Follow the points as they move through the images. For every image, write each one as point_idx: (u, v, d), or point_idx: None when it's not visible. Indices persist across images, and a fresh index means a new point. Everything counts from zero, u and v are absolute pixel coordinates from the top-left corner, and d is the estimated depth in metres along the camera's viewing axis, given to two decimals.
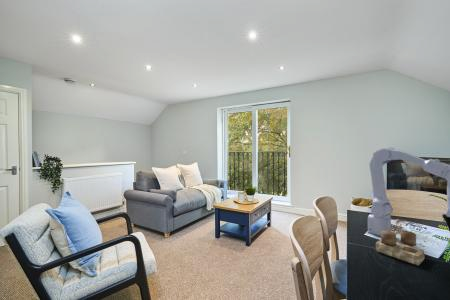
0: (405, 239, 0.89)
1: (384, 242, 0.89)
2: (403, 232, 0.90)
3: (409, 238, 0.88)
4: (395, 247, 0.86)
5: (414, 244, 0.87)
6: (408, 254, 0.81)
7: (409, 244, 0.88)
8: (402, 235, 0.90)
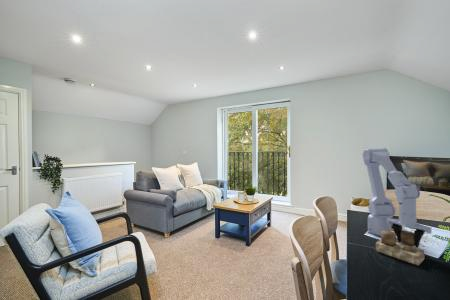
0: (405, 239, 0.89)
1: (384, 242, 0.89)
2: (403, 232, 0.90)
3: (409, 238, 0.88)
4: (395, 247, 0.86)
5: (414, 244, 0.87)
6: (408, 254, 0.81)
7: (409, 244, 0.88)
8: (402, 235, 0.90)
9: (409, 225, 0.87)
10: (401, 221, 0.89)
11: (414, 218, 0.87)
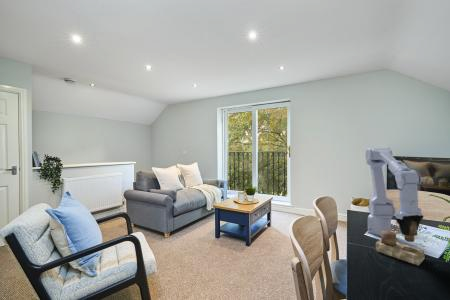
0: (415, 229, 0.82)
1: (384, 242, 0.89)
2: None
3: (416, 226, 0.83)
4: (395, 247, 0.86)
5: None
6: (408, 254, 0.81)
7: None
8: (412, 226, 0.82)
9: (418, 212, 0.82)
10: (414, 210, 0.81)
11: None
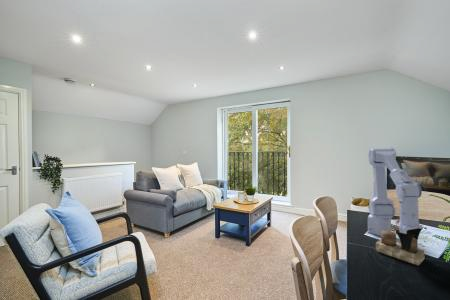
0: (416, 246, 0.81)
1: (384, 242, 0.89)
2: None
3: (417, 243, 0.82)
4: (395, 247, 0.86)
5: None
6: (408, 254, 0.81)
7: (417, 249, 0.82)
8: (414, 243, 0.81)
9: None
10: (415, 224, 0.80)
11: None
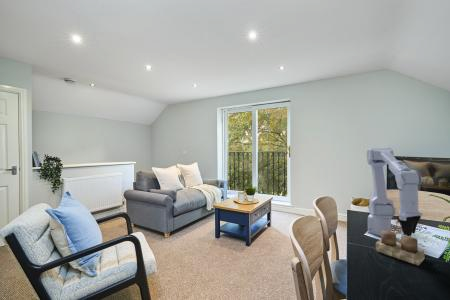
0: (416, 246, 0.81)
1: (384, 242, 0.89)
2: (410, 240, 0.82)
3: (417, 243, 0.82)
4: (395, 247, 0.86)
5: None
6: (408, 254, 0.81)
7: (417, 249, 0.82)
8: (414, 243, 0.81)
9: None
10: (415, 211, 0.80)
11: None
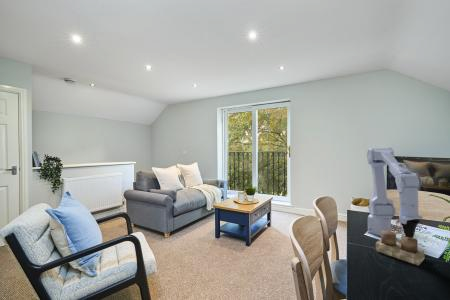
0: (416, 246, 0.81)
1: (384, 242, 0.89)
2: (410, 240, 0.82)
3: (417, 243, 0.82)
4: (395, 247, 0.86)
5: None
6: (408, 254, 0.81)
7: (417, 249, 0.82)
8: (414, 243, 0.81)
9: None
10: (415, 214, 0.80)
11: None
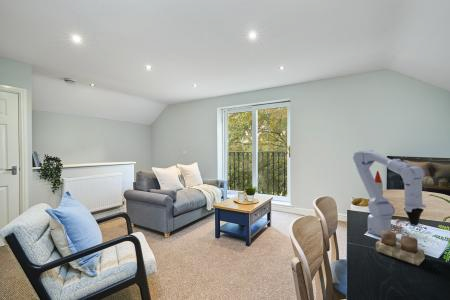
0: (416, 246, 0.81)
1: (384, 242, 0.89)
2: (410, 240, 0.82)
3: (417, 243, 0.82)
4: (395, 247, 0.86)
5: None
6: (408, 254, 0.81)
7: (417, 249, 0.82)
8: (414, 243, 0.81)
9: None
10: (419, 203, 0.88)
11: None
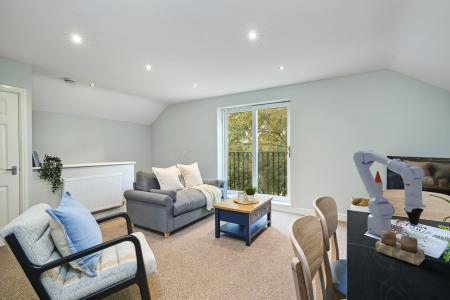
0: (416, 246, 0.81)
1: (384, 242, 0.89)
2: (410, 240, 0.82)
3: (417, 243, 0.82)
4: (395, 247, 0.86)
5: None
6: (408, 254, 0.81)
7: (417, 249, 0.82)
8: (414, 243, 0.81)
9: None
10: (419, 203, 0.88)
11: None
